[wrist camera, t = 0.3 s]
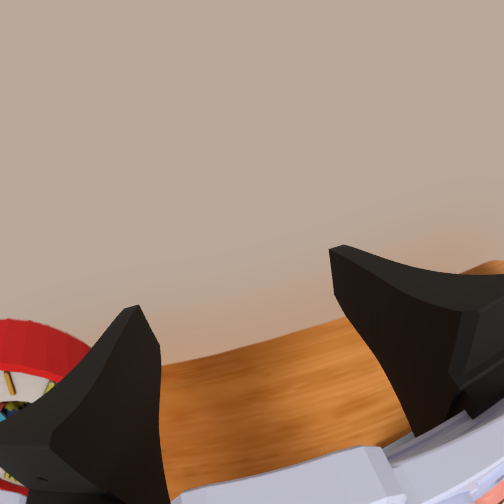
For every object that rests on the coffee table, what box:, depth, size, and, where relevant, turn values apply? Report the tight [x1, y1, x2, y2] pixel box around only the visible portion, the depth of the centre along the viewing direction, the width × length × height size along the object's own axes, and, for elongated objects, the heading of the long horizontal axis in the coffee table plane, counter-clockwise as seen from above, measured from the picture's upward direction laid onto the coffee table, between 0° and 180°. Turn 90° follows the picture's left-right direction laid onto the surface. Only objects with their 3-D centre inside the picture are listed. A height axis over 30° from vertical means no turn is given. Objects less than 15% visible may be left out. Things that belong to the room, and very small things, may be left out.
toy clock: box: [0, 318, 91, 496], centre depth 20 cm, size 20×6×20 cm, turn 120°
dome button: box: [474, 479, 504, 504], centre depth 13 cm, size 5×5×4 cm
